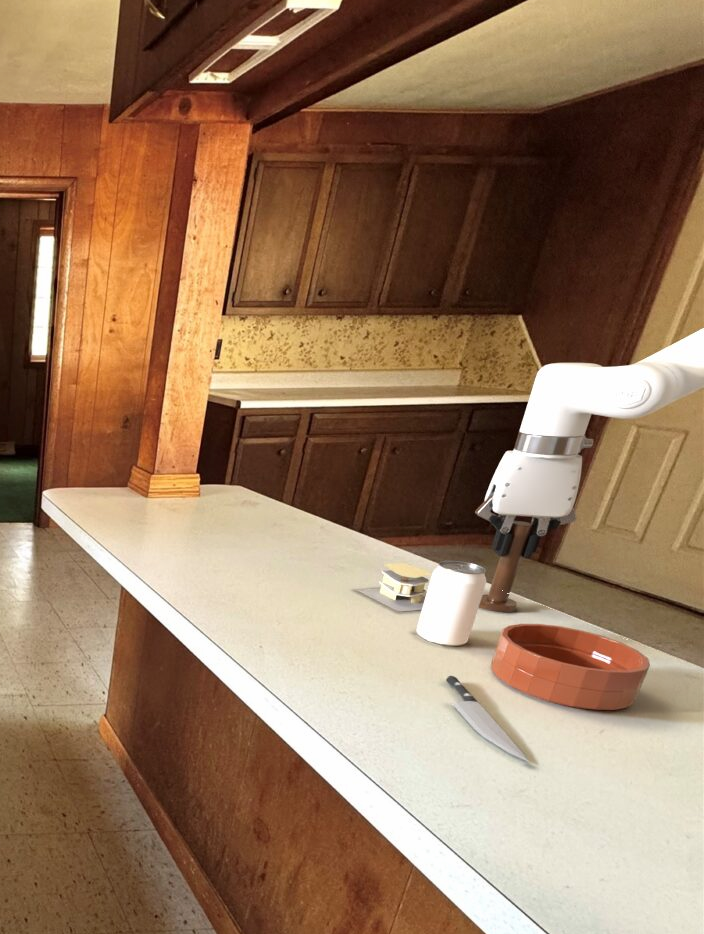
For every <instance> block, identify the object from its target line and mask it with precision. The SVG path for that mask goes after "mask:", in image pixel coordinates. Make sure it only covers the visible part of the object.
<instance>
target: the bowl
mask: <svg viewBox="0 0 704 934" xmlns="http://www.w3.org/2000/svg"><path fill="white" fill-rule="evenodd" d="M650 666H651V664H650V661H649V658H648V657H647V656H645V654H643V653H641V651H639V650H637V649H635V648H633V647H632V646H630V645H628V644H625V643H623V642H621V641H618V640H616V639H613V638H610V637H607V636H603V635H601V634H597V633H594V632H589V631H585V630H582V629H577V628H573V627H566V626H561V625H553V624H545V623H518V624H517V623H516V624H512V625H508V626H506V627H504V628H503V629H502V630H501V633H500V635H499V639H498V642H497V645H496V648H495V650H494V654H493V657H492V659H491V663H490V670H491V672H493V674H494V675H495V676H496V677H497V678H498V679H500V680H501V681H503V682H504V683H506V684H507V685H509V686H511V687H512V688H514V689H516V690H518V691H520V692H522V693H524V694H527V695H529V696H532V697H534V698H537V699H541V700H543V701H547V702H550V703H553V704H558V705H561V706H566V707H571V708H577V709H584V710H607V711H608V710H609V711H610V710H611V711H612V710H613V711H615V710H619V709H625V708H630V706H631V705H633V703H635V701H636V699H637V697H638V694H639V692H640V690H641V688H642V685H643V682H644V680H645V678H646V676H647V674H648V671H649V669H650Z"/></svg>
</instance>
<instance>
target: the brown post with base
mask: <svg viewBox="0 0 704 934" xmlns="http://www.w3.org/2000/svg"><path fill="white" fill-rule="evenodd" d="M531 528H532V524H531V522H527V521H521V520H520V521H519V520H514V522H513V524H512V527H511V529H510V530H511V531H510V534H512V539H511V542H510V545H509V548H508V551H507V554H506V556H504V557H500V556H499V559H498V563H497V566H496V570H495V572H494V576H493V579H492V582H491V585H490V588H489V591H488V593H486V594H484V593H483V595H482V598H481V601H480V604H479V607H480V608H482V609H484V610H488V611H492V612H496V613H513V612H514V611H515V610H516V608H517V605H518V604H517V601H515V600H513V599H512V598H510V594H507V593H511V591H512V587H513V584H514V582H515V579H516V576H517V573H518V570H519V567H520V563H521V561H522V558H523V556H522V555H523V552H524V549H525V546H526V543H527V540H528V537H529V534H530V531H531ZM502 590H503V591H502Z"/></svg>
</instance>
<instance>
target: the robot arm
mask: <svg viewBox="0 0 704 934" xmlns="http://www.w3.org/2000/svg"><path fill="white" fill-rule="evenodd" d="M701 389H704V327H703V328H701V329H699V330H697V331H696V332H693V333H691V334H689V335H687V336H685V337H684V338H682V339H680V340H678V341H676V342H674V343H673V344H670V345H668V346H667V347H665V348H663V349H661V350H659V351H657V352H655V353H653V354H652V355H649V356H648V357H645V358H644V359H641V360H639V361H637V362H635V363H632V364H628V365H627V364H626V365H617V366H602V365H600V364H597V363H592V362H555V363H554V362H553V363H549V364H545V365H543V366H542V367H541V368H540V369H539V370H538V371H537V372H536V376H535V379H534V382H533V385H532V388H531V392H530V395H529V398H528V402H527V405H526V408H525V411H524V415H523V418H522V420H521V425H520V428H519V431H518V434H517V438H516V441H515V444H514V448H513V450H507V451H505V453H504V454H503V456H502V458H501V460H500V461H499V463H498V466H497V468H496V469H495V472H494V474H493V476H492V478H491V481H490V483H489V486H488V489H487V491H486V492H485V493H486V494H485V497H484V501H483V502H482V503H481V504H480V505H479V506H478V507H477V508H476V509H475V511H474V514H475V515H477V516H478V517H480V518H482V519H484V520H486V521H488V522H489V523H491V525H492V526H493V527H494V528H495V529H496V531H495V535H494V538H493V540H492V545H491V548H492V550H493V552H494V553H495V554H496V555H497V556H499V558H500V557H504V556H506V554H507V551H508V548H509V545H510V542H511V539H512V534H510V531H511V530H510V529H511V527H512V524H513V522H514V521H515V519H516V517H531V521H530V523H531V524H532V528H531V531H530V534H529V537H528V540H527V543H526V546H525V549H524V552H523V555H522V558H524V559H528V560H530V559H531V558H532V555H533V554H535V553H536V552H537V549H538V546H539V544H540V541H541V538H542V537H543V536H545V535H546V534H547V532H549V531H552V530H554V529H555V528H557V527H559V526H562V525H566V524H571V523H574V522H576V521H577V520H578V518H577V514H576V511H575V507H574V505H575V502H576V499H577V495H578V490H579V486H580V482H581V477H582V469H583V468H582V466H583V456H582V455H580V454H581V451H582V450H583V449H585V448H587V449H588V448H589V449H590V448H592V447H593V445H594V439H593V438H587V437H586V431H587V429H588V426H589V422H590V419H591V417H592V415H594V416H595V415H596V416H602V417H609V418H612V419H623V420H632V419H638V418H643V417H646V416H649V415H651V414H653V413H655V412H657V411H659V410H660V409H662V408H664V407H666V406H668V405H670V404H672V403H674V402H676V401H678V400H680V399H682V398H684V397H686V396H689V395H691V394H693V393H696V392H697V391H700V390H701ZM491 511H493V512H494V513H493V512H491ZM495 513H496V514H495ZM497 514H498V515H497Z"/></svg>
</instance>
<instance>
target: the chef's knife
mask: <svg viewBox="0 0 704 934" xmlns="http://www.w3.org/2000/svg"><path fill="white" fill-rule="evenodd" d="M445 681H446V682H447V683H448V684H449V685H451V686H452V687H453V688H455V689H456V691H457V692H458V693H459V694H460V696H461V697H462V699H463V700H464V701H457V702H452V703H451V705H452V706H453V707H454V708H455V709H456V710H457V711H458V713H459V714H460V715H461V716H462V718H464V719H465V720H466V721H467V722H468V724H469V725H470V726H471V727H472V728H473V730H475V731H476V732H477V733H478V734H479V735H481V737H483V738H484V739H486V740H488V741H489V742H491V743H492V744H494V745H495V746H497V747H498V748H500V749H502V750H504V751H505V752H507V753H508V754H510V755H512V756H515V757H516V758H519V759H521V760H524V761H526V762H528V763H530V761H529V760H528V758H527V757H526V755H525V754H524V753H523V752H522V751H521V749H520V748H519V747H518V746H517V744H515V742H514V741H513V740H512V739H511V738H510V737H509V735H508V734H507V733H506V732H505V731H504V730H503V728H502V727H501V726H500V725H499V724H498V723H497V721H495V720H494V718H493V717H492V716H491V715H490V714H489V713H488V712H487V710H486V709H485V708H484V707H483V706H482V705H481V703H479V702H478V700H477V699H476V698H475V697H474V696H473V695H472V694H471V693H470V692H469V691H468V689H466V687H465V686H464V685H463V684H462V682H461V681H459V678H457V677H456V676H454V675H448V676H447V678H446V679H445Z"/></svg>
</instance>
